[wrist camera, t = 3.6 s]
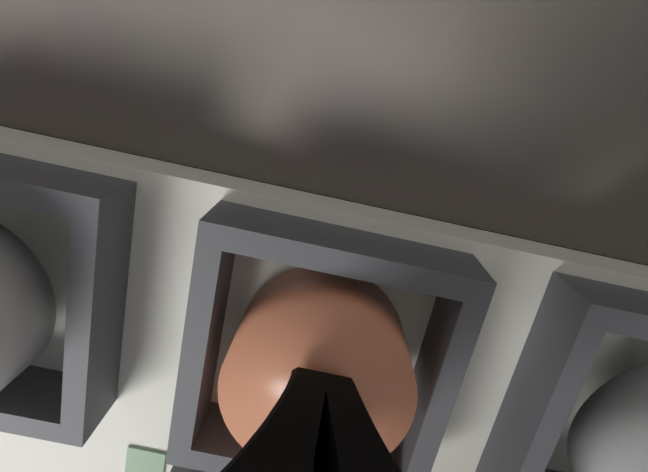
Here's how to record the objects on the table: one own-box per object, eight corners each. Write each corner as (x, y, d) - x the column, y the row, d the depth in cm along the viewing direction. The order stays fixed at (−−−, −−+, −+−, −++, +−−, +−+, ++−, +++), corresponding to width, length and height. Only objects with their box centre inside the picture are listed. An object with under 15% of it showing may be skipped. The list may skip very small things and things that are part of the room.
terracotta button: (380, 425, 14) (389, 494, 12) (228, 394, 14) (204, 457, 11) (422, 285, 13) (442, 331, 10) (254, 249, 12) (233, 287, 10)
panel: (650, 616, 18) (719, 734, 15) (-189, 456, 17) (-316, 544, 14) (835, 306, 14) (988, 373, 11) (-244, 73, 13) (-442, 67, 10)
